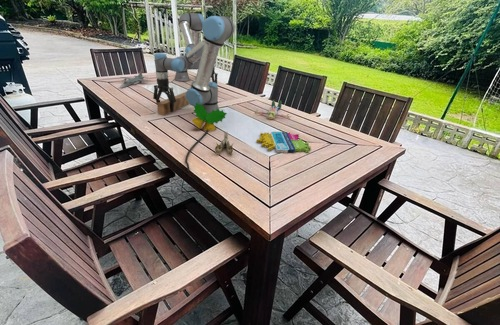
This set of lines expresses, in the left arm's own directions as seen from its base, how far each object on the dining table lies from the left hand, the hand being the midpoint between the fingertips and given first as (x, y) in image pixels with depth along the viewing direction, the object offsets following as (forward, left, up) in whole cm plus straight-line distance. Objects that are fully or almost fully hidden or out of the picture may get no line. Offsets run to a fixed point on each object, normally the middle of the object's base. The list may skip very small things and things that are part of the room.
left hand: (210, 91), depth 240 cm
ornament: (+75, -47, -1) cm, 88 cm away
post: (+17, -29, -1) cm, 34 cm away
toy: (+74, +9, -1) cm, 75 cm away
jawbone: (+106, -57, -1) cm, 120 cm away
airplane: (-58, -49, -1) cm, 76 cm away
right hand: (+33, -58, +1) cm, 67 cm away
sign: (+115, -23, -1) cm, 117 cm away
